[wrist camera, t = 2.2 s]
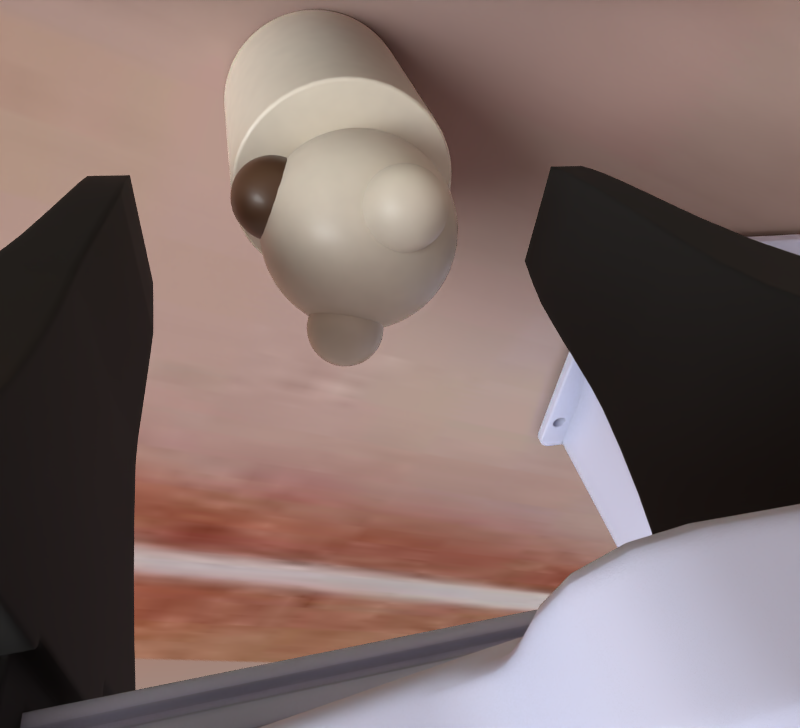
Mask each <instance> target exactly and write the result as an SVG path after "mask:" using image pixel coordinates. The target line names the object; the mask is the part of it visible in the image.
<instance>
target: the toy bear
mask: <svg viewBox="0 0 800 728" xmlns="http://www.w3.org/2000/svg"><path fill="white" fill-rule="evenodd" d="M224 108H225V120H226V133H227V145H228V157H229V170H230V182H231V205H232V209H233V212H234V215H235V217H236V219H237V220H238V222H239V224H240V226H241V228H242V229H243V231H244V233H245V235H246V236H247V238H248V239H249V240H250V242H251V243H252V244H253V246H254V247H255V248H256V249H257V250H258V251H259V252H260V253H261V254H262V255H263V257H264V260H265V263H266V266H267V269H268V271H269V273H270V274H271V276H272V278H273V280H274V282H275V284H276V285H277V287H278V288H279V289H280V290H281V292H282V293H283V294H284V295H285V297H286V298H287V299H288V300H289V301H290V302H291V303H292V304H293V305H294V306H295V307H297V308H298V309H299V310H301V311H302V312H304V313H305V314H306V315H308V316H309V317H308V322H307V334H308V338H309V341H310V344H311V346H312V348H313V349H314V351H315V352H316V353H317V354H318V355H319V356H320V357H321V358H322V359H324V360H325V361H327V362H329V363H331V364H334V365H338V366H353V365H357V364H360V363H362V362H364V361H365V360H367V359H368V358H370V357H371V356H372V355H373V354H374V353H375V351H376V350H377V348H378V347H379V345H380V343H381V340H382V336H383V327H387V326H390V325H393V324H395V323H398V322H400V321H402V320H404V319H406V318H408V317H409V316H411V315H413V314H414V313H416V312H417V311H418V310H420V309H421V308H422V307H424V306H425V305H426V304H427V303H428V302H429V301H430V300H431V299H432V298H433V296H434V295H435V294H436V293H437V291H438V290H439V288H440V287H441V285H442V284H443V282H444V281H445V279H446V277H447V275H448V273H449V271H450V268H451V265H452V262H453V259H454V256H455V251H456V246H457V232H458V225H457V215H456V210H455V205H454V201H453V198H452V195H451V193H450V186H451V173H452V170H451V158H450V154H449V149H448V145H447V142H446V140H445V137H444V135H443V132H442V131H441V129H440V127H439V125H438V124H437V122H436V120H435V119H434V117H433V115H432V114H431V112H430V111H429V109H428V108H427V106H426V105H425V103H424V102H423V100H422V99H421V97H420V96H419V94H418V93H417V91H416V89H415V88H414V86H413V85H412V83H411V82H410V80H409V79H408V77H407V76H406V74H405V73H404V71H403V70H402V68H401V67H400V65H399V63H398V62H397V60H396V59H395V57H394V56H393V54H392V53H391V51H390V50H389V48H388V47H387V46H386V45H385V43H384V42H383V41H382V40H381V39H380V38H379V37H378V36H377V35H376V34H375V33H374V32H373V31H372V30H371V29H369V28H368V27H367V26H365V25H364V24H362V23H361V22H359V21H357V20H355V19H353V18H351V17H349V16H346V15H343V14H340V13H337V12H332V11H327V10H302V11H297V12H292V13H288V14H285V15H283V16H280V17H278V18H275V19H274V20H272V21H270V22H268V23H267V24H265V25H263V26H262V27H261V28H260V29H258V30H257V31H256V32H254V33H253V34H252V35H251V37H250V38H249V39H248V40H247V41H246V42H245V43H244V44H243V46H242V47H241V49H240V50H239V51H238V53H237V55H236V57H235V59H234V61H233V62H232V64H231V67H230V70H229V73H228V76H227V80H226V85H225V94H224Z"/></svg>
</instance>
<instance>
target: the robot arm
mask: <svg viewBox="0 0 800 728" xmlns="http://www.w3.org/2000/svg"><path fill="white" fill-rule="evenodd" d="M525 263H526V265H527V268H528V271H529V274H530V277H531V279H532V282H533V285H534V287H535V290H536V292H537V294H538V297H539V299H540V302H541V304H542V305H543V307H544V309H545V311H546V313H547V314H548V316H549V318H550V320H551V321H552V323H553V325H554V326H555V328H556V330H557V332H558V333H559V335H560V337H561V338H562V340H563V342H564V343H565V345H566V347H567V348H568V350H569V353H568V356H567V359H566V361H565V364H564V366H563V369H562V372H561V374H560V377H559V380H558V382H557V385H556V388H555V390H554V393H553V396H552V398H551V401H550V403H549V406H548V409H547V411H546V414H545V417H544V419H543V422H542V425H541V427H540V430H539V433H538V438H539V440H540V442H541V443H542V445H545V446H552V445H560V444H563V445H564V447H565V449H566V451H567V453H568V455H569V457H570V459H571V461H572V462H573V464H574V466H575V468H576V470H577V472H578V474H579V476H580V478H581V479H582V481H583V483H584V485H585V487H586V489H587V491H588V493H589V494H590V496H591V498H592V500H593V502H594V504H595V506H596V508H597V510H598V511H599V513H600V515H601V517H602V519H603V521H604V523H605V525H606V526H607V528H608V530H609V532H610V534H611V536H612V538H613V540H614V542H615V543H616V545H617V547H618V548H616V549H614V550H612V551H611V552H609V553H607V554H605V555H604V556H602V557H600V558H598V559H596V560H595V561H593V562H591V563H589V564H587V565H586V566H584V567H582V568H580V569H579V570H577V571H575V572H573V573H571V574H570V575H569V576H568V577H567V578H566V579H565V580H564V581H563V582H562V583H561V584H560V585H559V586H558V587H557V588H556V589H555V590H554V591H553V593H552V594H551V595H550V596H549V597H548V598H547V599H546V600H545V601H544V602H543V603H542V604H541V605H540V606H539V608H538V610H533V611H528V612H523V613H518V614H513V615H508V616H503V617H498V618H493V619H488V620H483V621H478V622H473V623H468V624H463V625H458V626H453V627H448V628H443V629H438V630H433V631H428V632H423V633H418V634H413V635H408V636H403V637H398V638H393V639H388V640H383V641H378V642H373V643H368V644H363V645H358V646H353V647H348V648H343V649H339V650H334V651H329V652H324V653H319V654H314V655H309V656H304V657H299V658H294V659H289V660H284V661H279V662H274V663H269V664H264V665H259V666H254V667H249V668H244V669H239V670H234V671H229V672H224V673H219V674H214V675H209V676H204V677H199V678H194V679H189V680H184V681H179V682H174V683H169V684H164V685H159V686H154V687H149V688H144V689H139V690H135V653H134V505H135V464H136V453H137V442H138V435H139V428H140V421H141V414H142V407H143V400H144V394H145V387H146V380H147V373H148V366H149V359H150V352H151V345H152V337H153V281H152V276H151V272H150V267H149V262H148V258H147V253H146V248H145V244H144V239H143V235H142V230H141V225H140V221H139V216H138V212H137V207H136V202H135V198H134V193H133V188H132V184H131V179H130V175H124V176H87V177H86V178H84V179H83V180H82V181H81V182H79V183H78V184H77V185H76V186H75V187H74V188H73V189H72V190H70V191H69V192H68V193H67V194H66V195H65V196H64V197H63V198H62V199H61V200H60V201H59V202H57V203H56V204H55V205H54V206H53V207H52V208H51V209H50V210H49V211H48V212H46V213H45V214H44V215H43V216H42V217H41V218H40V219H38V220H37V221H36V222H35V223H34V224H33V225H32V226H31V227H29V228H28V229H27V230H26V231H25V232H24V233H23V234H21V235H20V236H19V237H18V238H16V239H15V240H14V241H12V242H11V243H10V244H9V245H7V246H6V247H5V248H3V249H2V250H1V251H0V728H800V234H793V235H773V236H754V237H745V236H743V235H740V234H738V233H735V232H733V231H730V230H728V229H726V228H723V227H721V226H719V225H716V224H714V223H711V222H709V221H707V220H704V219H702V218H700V217H698V216H695V215H693V214H691V213H689V212H687V211H684V210H682V209H680V208H678V207H676V206H674V205H672V204H669V203H667V202H665V201H663V200H661V199H659V198H657V197H655V196H653V195H650V194H648V193H646V192H644V191H642V190H640V189H638V188H635V187H633V186H631V185H629V184H627V183H625V182H623V181H620V180H618V179H616V178H613V177H611V176H609V175H606V174H604V173H601V172H599V171H596V170H593V169H590V168H586V167H583V166H565V167H551V169H550V172H549V176H548V179H547V183H546V187H545V190H544V194H543V198H542V201H541V205H540V208H539V212H538V216H537V219H536V223H535V226H534V230H533V234H532V237H531V241H530V244H529V248H528V252H527V255H526V259H525Z"/></svg>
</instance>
